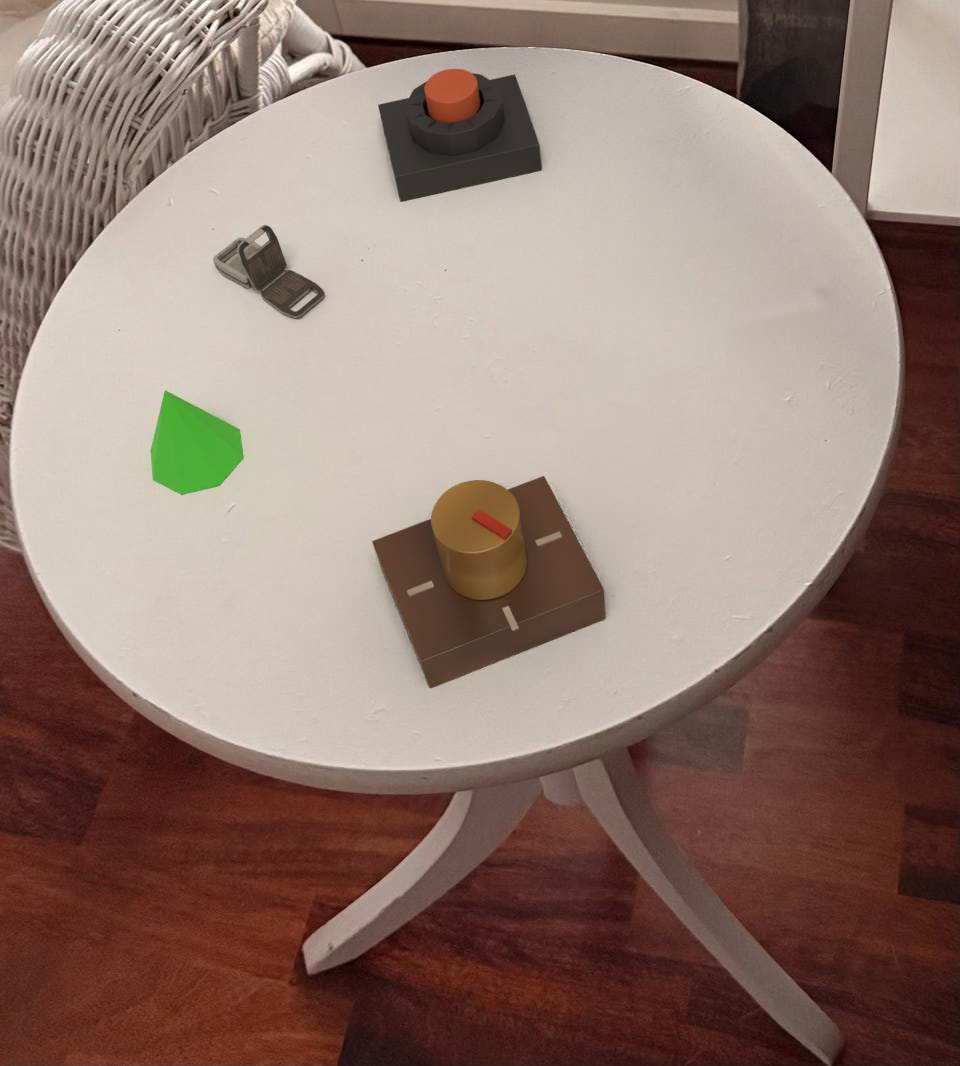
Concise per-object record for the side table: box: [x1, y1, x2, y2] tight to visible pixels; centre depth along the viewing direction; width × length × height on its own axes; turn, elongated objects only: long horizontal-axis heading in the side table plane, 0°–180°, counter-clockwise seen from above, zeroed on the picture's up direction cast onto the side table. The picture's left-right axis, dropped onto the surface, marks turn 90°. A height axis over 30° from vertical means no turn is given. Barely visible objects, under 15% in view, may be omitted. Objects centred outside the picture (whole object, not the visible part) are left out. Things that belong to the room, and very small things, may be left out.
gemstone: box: [150, 389, 244, 495], centre depth 73 cm, size 6×6×6 cm
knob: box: [430, 479, 527, 600], centre depth 63 cm, size 4×4×5 cm
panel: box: [371, 475, 607, 689], centre depth 66 cm, size 10×9×3 cm
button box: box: [377, 72, 543, 202], centre depth 86 cm, size 10×8×4 cm
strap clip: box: [212, 224, 325, 319], centre depth 81 cm, size 8×3×4 cm, turn 48°
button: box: [424, 68, 480, 123], centre depth 84 cm, size 4×4×2 cm
